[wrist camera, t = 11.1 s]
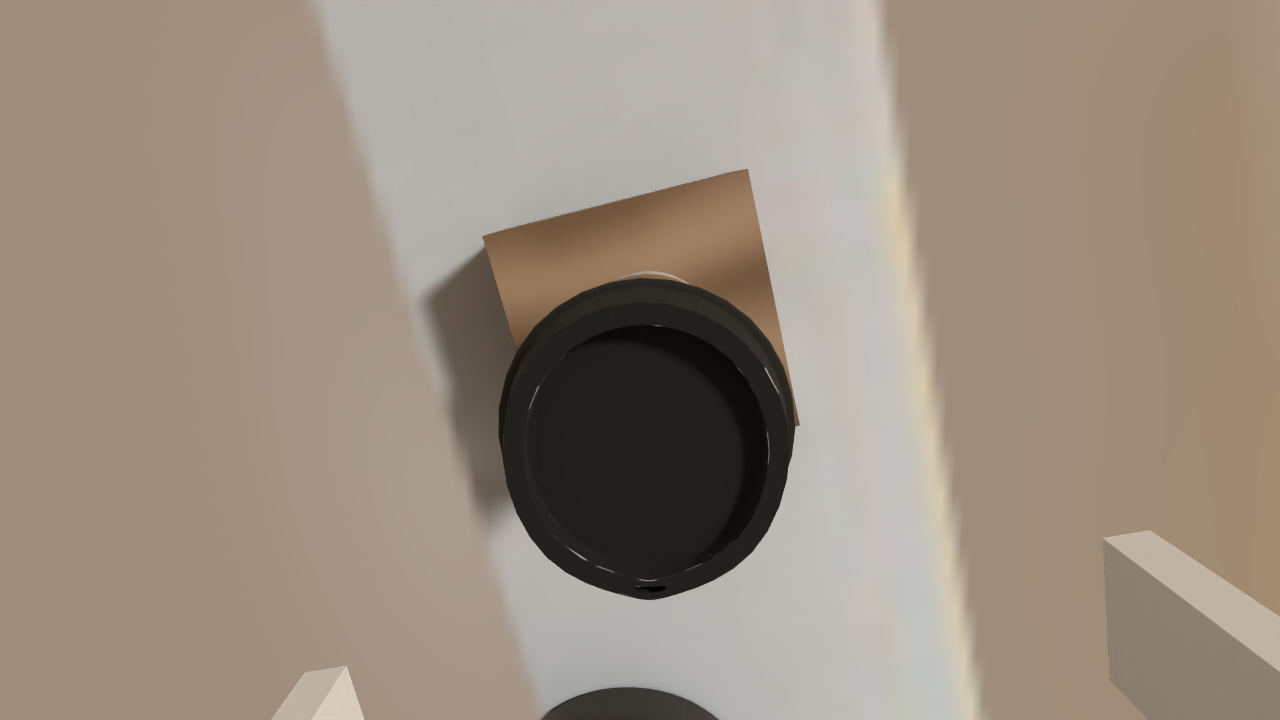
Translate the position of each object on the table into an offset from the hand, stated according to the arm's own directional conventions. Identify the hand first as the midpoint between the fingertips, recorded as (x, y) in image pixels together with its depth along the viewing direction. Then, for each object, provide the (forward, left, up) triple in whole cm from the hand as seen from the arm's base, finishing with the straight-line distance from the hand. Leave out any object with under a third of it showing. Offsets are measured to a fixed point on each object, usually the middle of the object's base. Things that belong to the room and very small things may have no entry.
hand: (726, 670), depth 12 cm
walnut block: (+1, +2, -26) cm, 26 cm away
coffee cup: (+1, +2, -21) cm, 21 cm away
